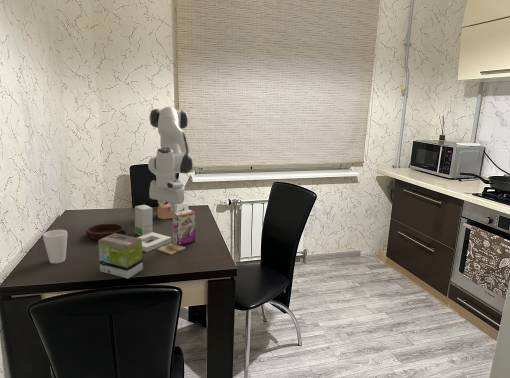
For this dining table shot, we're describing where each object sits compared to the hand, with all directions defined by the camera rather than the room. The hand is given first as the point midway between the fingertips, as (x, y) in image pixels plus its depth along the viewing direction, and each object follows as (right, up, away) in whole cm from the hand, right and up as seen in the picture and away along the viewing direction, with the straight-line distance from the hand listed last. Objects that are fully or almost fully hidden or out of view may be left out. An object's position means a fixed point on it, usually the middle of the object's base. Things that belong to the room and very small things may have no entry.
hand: (166, 210), depth 176 cm
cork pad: (+2, -20, +4) cm, 20 cm away
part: (0, -3, +1) cm, 3 cm away
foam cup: (-46, -22, -13) cm, 53 cm away
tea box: (-14, -25, -21) cm, 36 cm away
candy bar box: (+6, -18, +14) cm, 23 cm away
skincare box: (-18, -15, +25) cm, 34 cm away
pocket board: (-11, -18, +10) cm, 23 cm away
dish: (-37, -16, +18) cm, 44 cm away
